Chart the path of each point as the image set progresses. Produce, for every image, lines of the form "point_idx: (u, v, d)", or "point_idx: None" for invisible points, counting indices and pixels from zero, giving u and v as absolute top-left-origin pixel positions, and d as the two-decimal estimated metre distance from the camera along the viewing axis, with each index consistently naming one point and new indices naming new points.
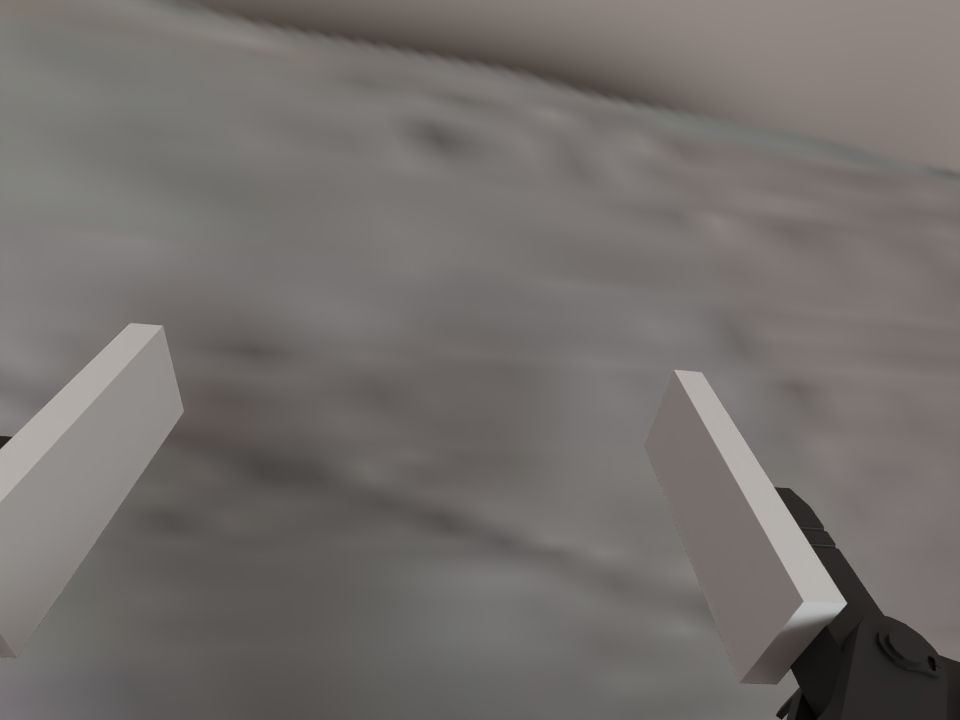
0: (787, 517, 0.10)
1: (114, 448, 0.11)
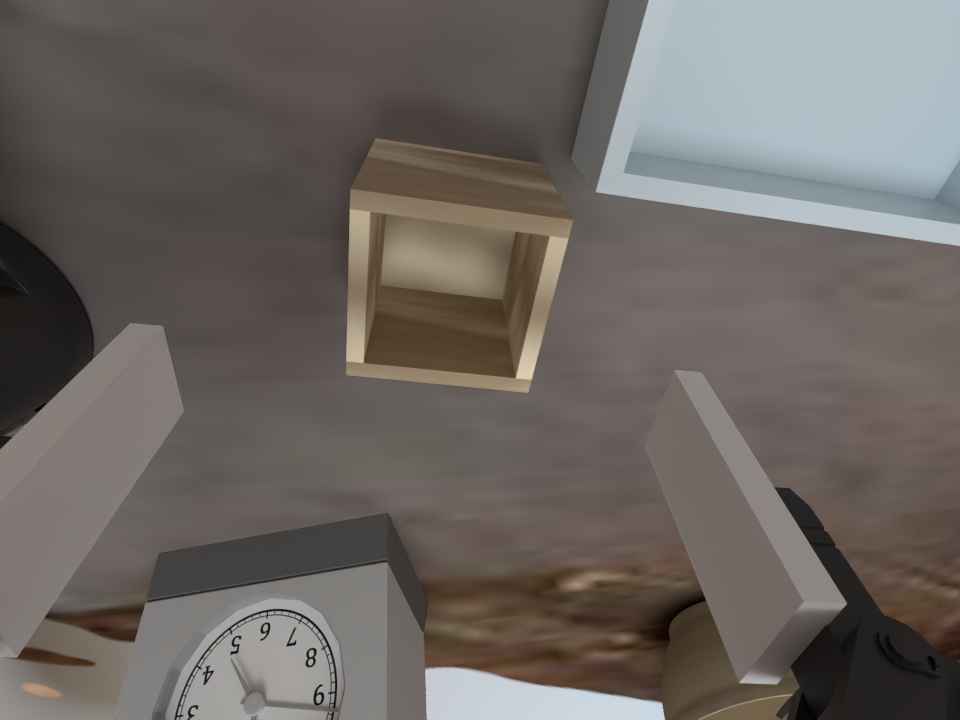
0: (787, 517, 0.10)
1: (114, 448, 0.11)
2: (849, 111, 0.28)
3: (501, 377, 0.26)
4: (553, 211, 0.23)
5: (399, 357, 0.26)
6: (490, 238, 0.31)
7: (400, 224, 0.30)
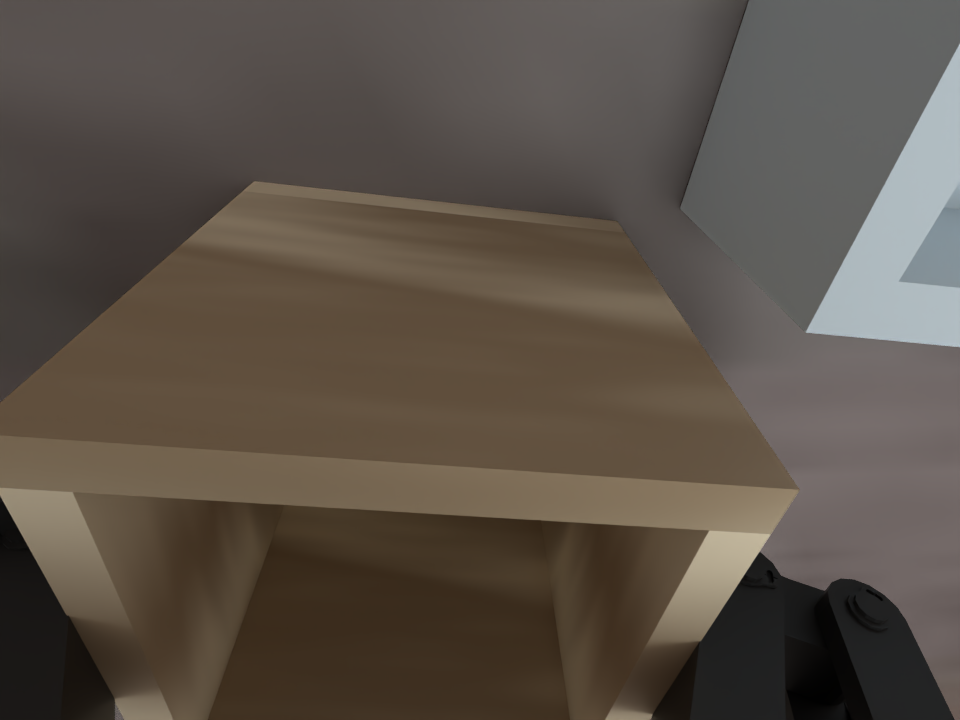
0: None
1: None
2: None
3: None
4: (714, 440, 0.07)
5: (292, 717, 0.11)
6: None
7: None
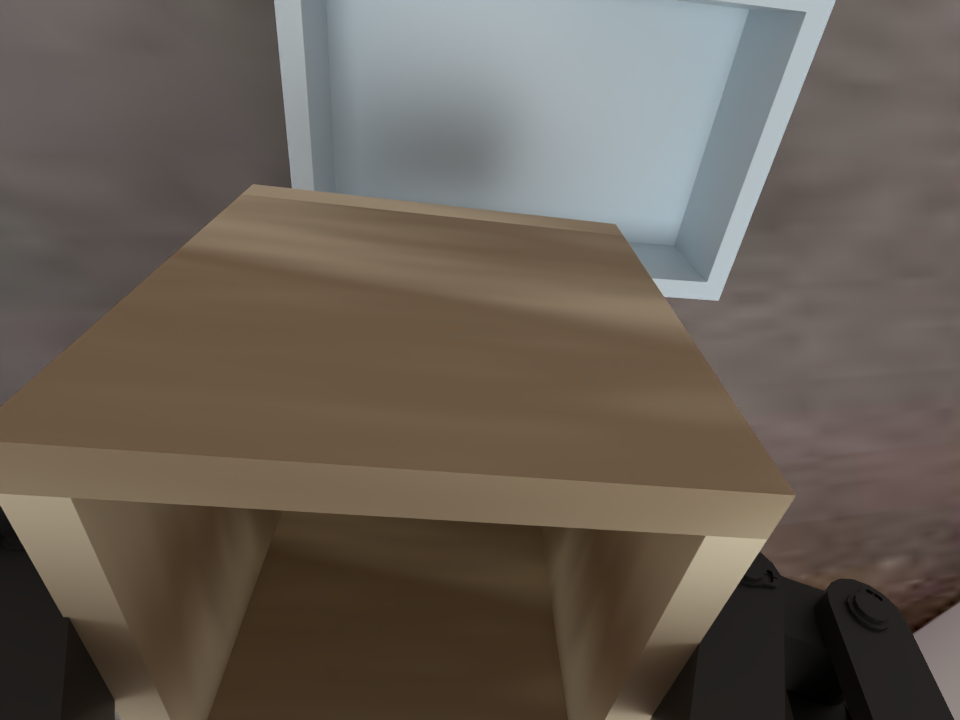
0: None
1: None
2: (563, 174, 0.30)
3: None
4: (710, 445, 0.07)
5: None
6: None
7: None
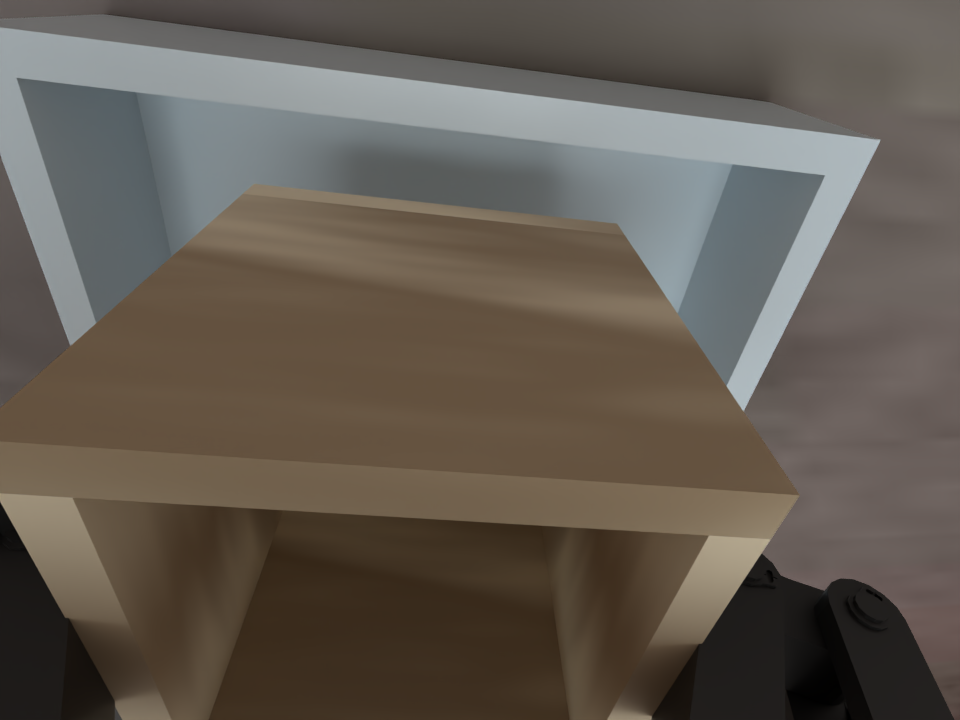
0: None
1: None
2: None
3: None
4: (714, 445, 0.07)
5: None
6: None
7: None
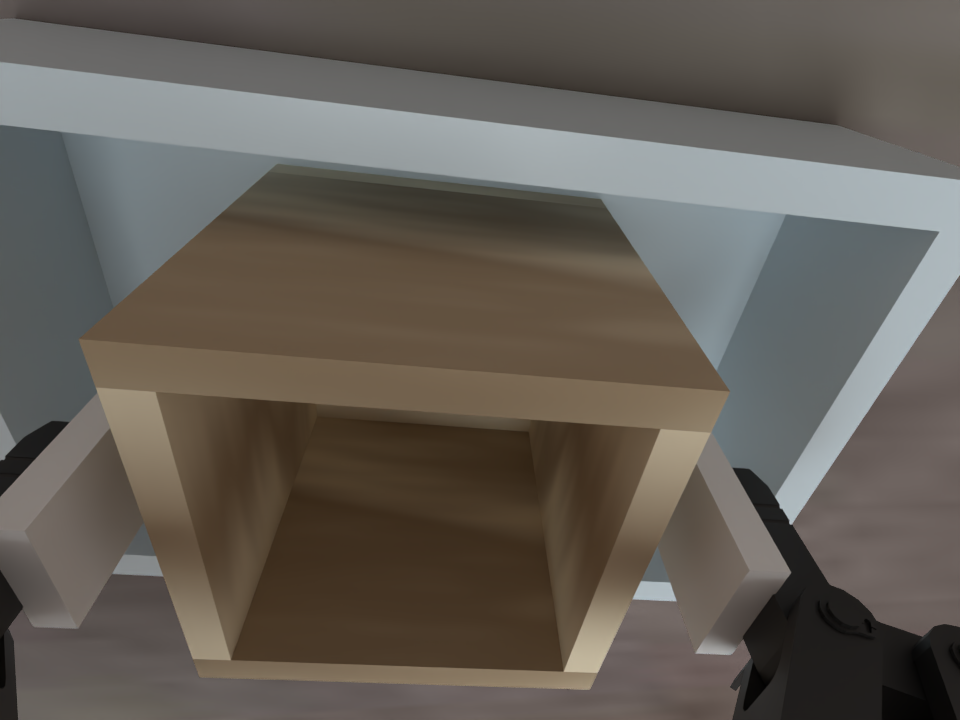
0: (741, 493, 0.11)
1: None
2: None
3: (533, 671, 0.12)
4: (666, 358, 0.08)
5: (315, 627, 0.12)
6: None
7: None
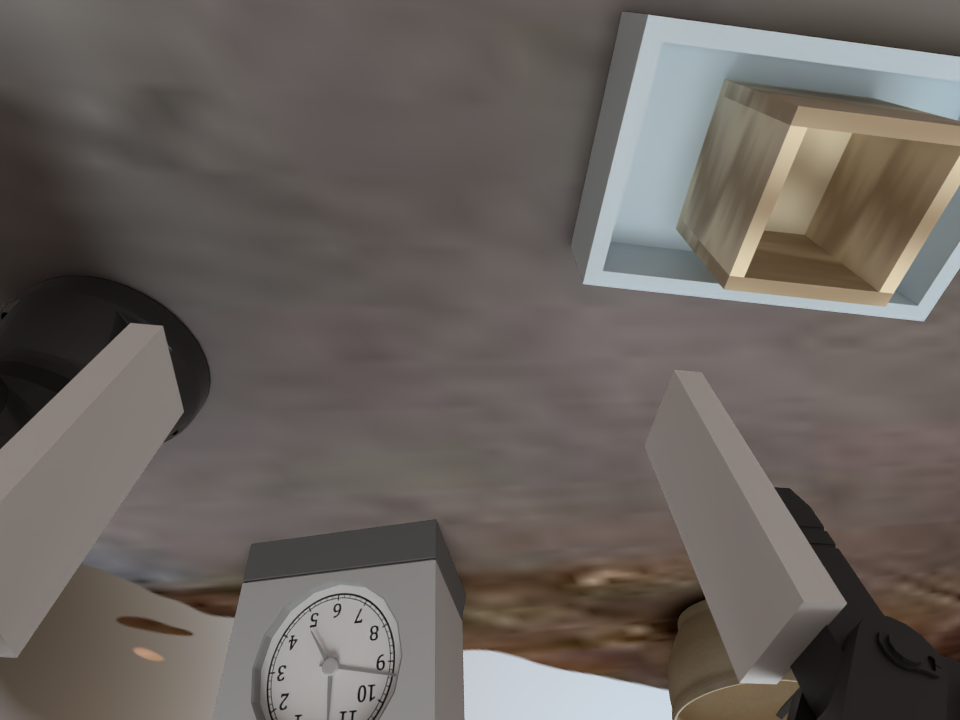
0: (787, 517, 0.10)
1: (114, 448, 0.11)
2: None
3: (865, 291, 0.28)
4: None
5: (767, 274, 0.29)
6: (810, 173, 0.33)
7: None
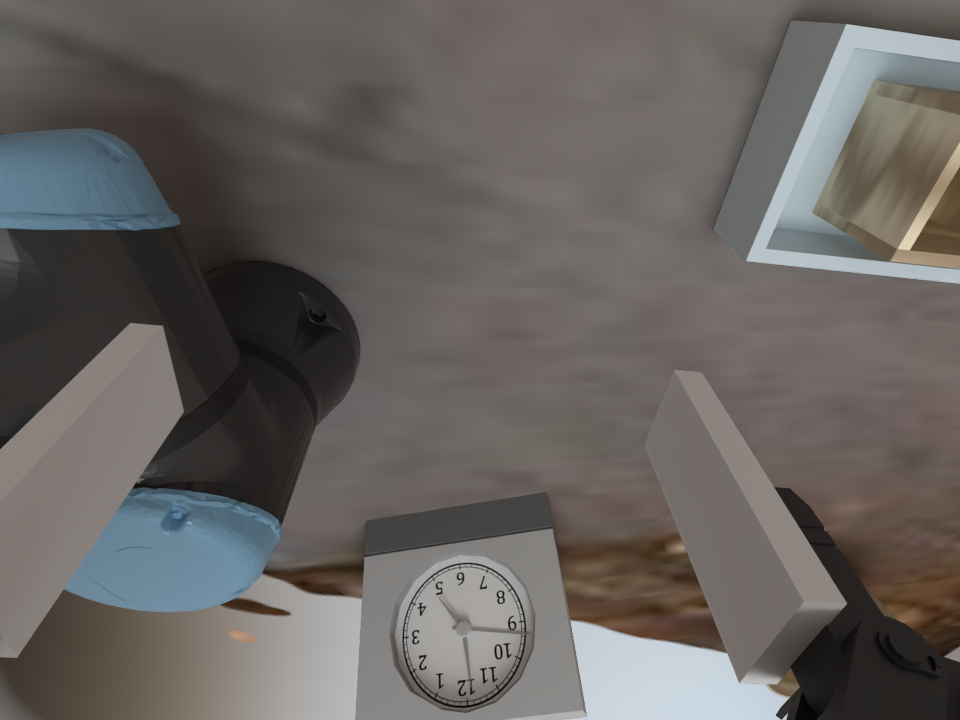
0: (787, 517, 0.10)
1: (114, 448, 0.11)
2: None
3: None
4: None
5: (925, 247, 0.33)
6: None
7: None
